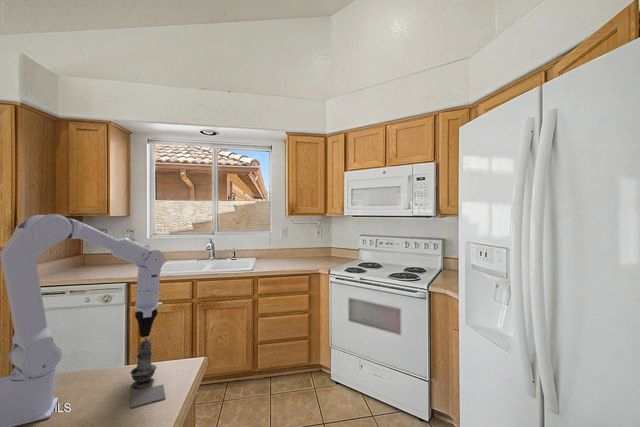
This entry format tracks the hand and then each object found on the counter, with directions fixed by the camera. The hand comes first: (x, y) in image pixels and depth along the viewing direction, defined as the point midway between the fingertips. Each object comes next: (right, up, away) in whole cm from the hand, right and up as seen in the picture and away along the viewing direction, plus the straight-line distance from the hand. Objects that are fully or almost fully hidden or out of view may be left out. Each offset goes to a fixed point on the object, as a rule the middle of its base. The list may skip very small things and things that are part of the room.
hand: (144, 336), depth 81 cm
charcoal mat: (+9, -9, -13) cm, 19 cm away
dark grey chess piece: (+4, -10, -8) cm, 13 cm away
